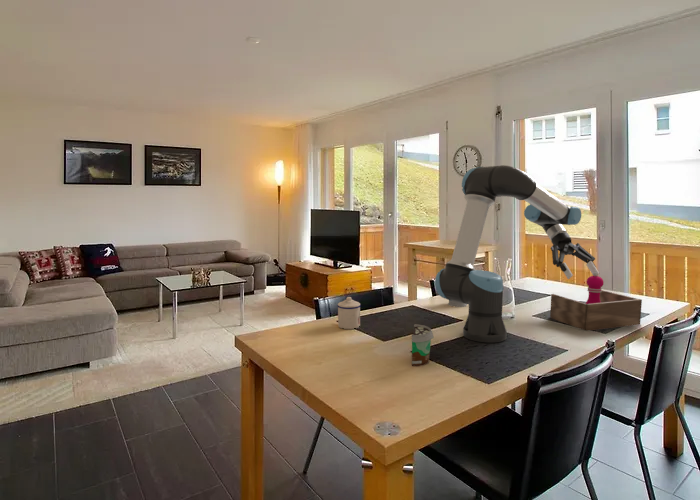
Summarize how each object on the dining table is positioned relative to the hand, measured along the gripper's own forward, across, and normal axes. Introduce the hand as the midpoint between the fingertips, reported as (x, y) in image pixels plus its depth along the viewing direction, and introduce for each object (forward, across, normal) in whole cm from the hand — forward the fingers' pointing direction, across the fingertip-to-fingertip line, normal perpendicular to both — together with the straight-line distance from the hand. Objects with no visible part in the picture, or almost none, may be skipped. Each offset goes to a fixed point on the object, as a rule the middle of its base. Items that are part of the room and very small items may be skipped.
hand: (583, 276), depth 184 cm
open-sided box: (+17, +1, -7) cm, 18 cm away
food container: (+30, +86, +6) cm, 91 cm away
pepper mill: (+17, +1, -7) cm, 19 cm away
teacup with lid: (-1, +97, -25) cm, 100 cm away
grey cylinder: (-11, +36, -36) cm, 52 cm away
